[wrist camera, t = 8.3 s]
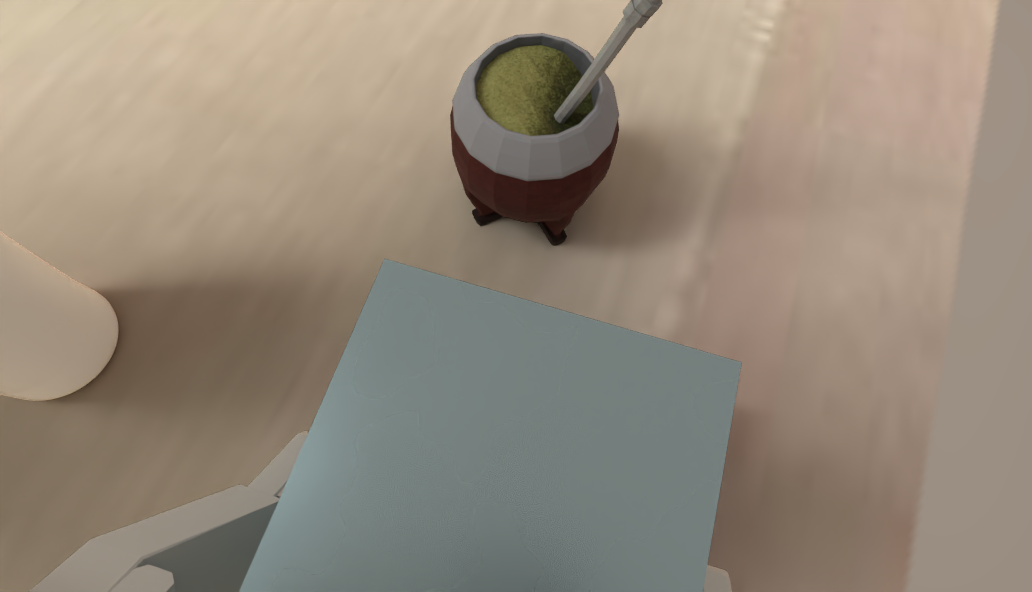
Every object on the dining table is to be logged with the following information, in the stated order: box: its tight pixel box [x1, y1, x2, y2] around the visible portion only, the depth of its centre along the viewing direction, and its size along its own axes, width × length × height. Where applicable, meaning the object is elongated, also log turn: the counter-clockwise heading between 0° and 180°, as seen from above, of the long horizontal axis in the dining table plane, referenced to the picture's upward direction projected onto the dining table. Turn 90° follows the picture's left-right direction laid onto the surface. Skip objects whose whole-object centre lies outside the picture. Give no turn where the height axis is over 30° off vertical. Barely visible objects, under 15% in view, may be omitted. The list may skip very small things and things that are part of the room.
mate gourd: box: [450, 0, 662, 245], centre depth 21 cm, size 8×8×15 cm
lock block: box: [239, 259, 742, 592], centre depth 10 cm, size 8×5×9 cm, turn 163°
